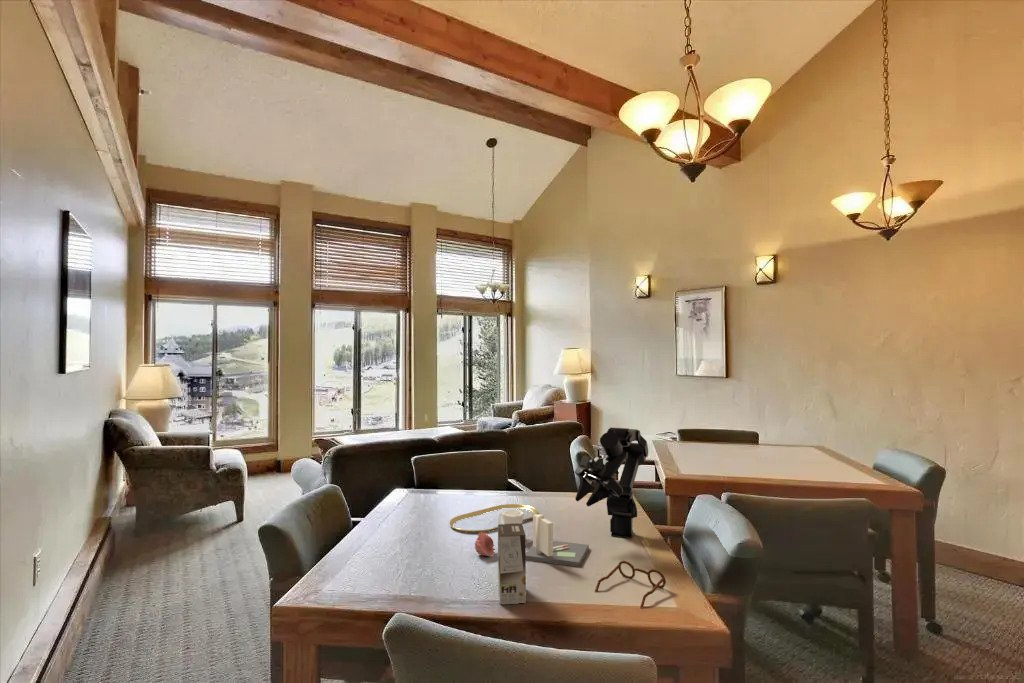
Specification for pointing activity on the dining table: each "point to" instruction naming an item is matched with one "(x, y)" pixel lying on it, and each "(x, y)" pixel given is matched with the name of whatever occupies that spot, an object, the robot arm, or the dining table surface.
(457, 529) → the yellow oval loop
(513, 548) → the coffee box
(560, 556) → the grey board
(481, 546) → the flower
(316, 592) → the dining table surface
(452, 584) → the dining table surface
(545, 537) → the tuning peg
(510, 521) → the cup
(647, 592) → the glasses
